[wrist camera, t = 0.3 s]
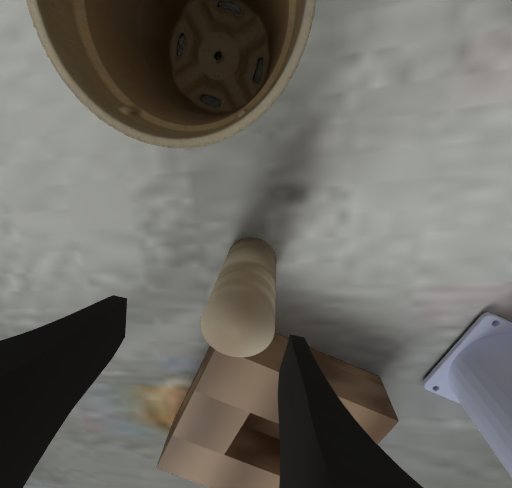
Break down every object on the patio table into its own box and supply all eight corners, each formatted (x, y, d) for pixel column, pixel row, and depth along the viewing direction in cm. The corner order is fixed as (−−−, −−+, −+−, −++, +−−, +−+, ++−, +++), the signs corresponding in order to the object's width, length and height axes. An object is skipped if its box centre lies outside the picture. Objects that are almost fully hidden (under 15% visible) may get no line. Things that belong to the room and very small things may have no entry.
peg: (284, 250, 21) (287, 313, 13) (263, 289, 22) (256, 367, 15) (238, 229, 21) (216, 282, 13) (220, 270, 22) (190, 340, 14)
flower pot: (161, 152, 19) (76, 163, 11) (120, -25, 16) (-40, -190, 8) (304, 132, 18) (326, 128, 10) (291, -61, 15) (307, -295, 7)
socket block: (380, 377, 24) (398, 421, 20) (302, 473, 29) (306, 522, 25) (226, 312, 23) (216, 346, 19) (172, 423, 28) (156, 467, 24)
